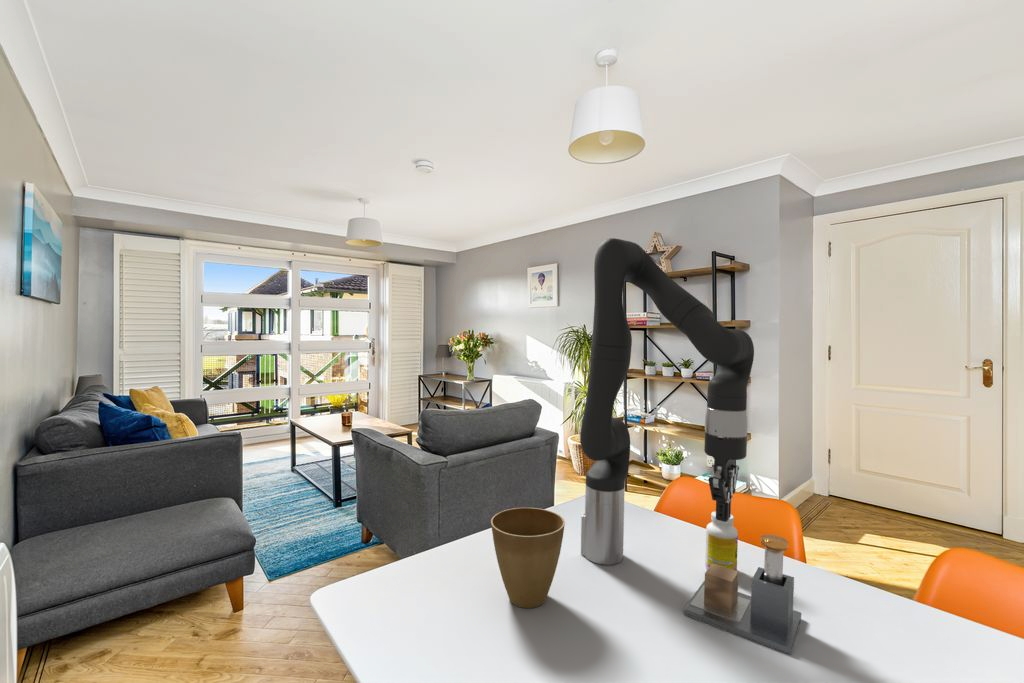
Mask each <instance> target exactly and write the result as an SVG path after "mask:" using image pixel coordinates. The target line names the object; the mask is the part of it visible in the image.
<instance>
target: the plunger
mask: <svg viewBox="0 0 1024 683" xmlns="http://www.w3.org/2000/svg"><path fill="white" fill-rule="evenodd" d="M760 544H761V546H764V560H763V562H764V563H763V565H764V566H763V568H764V581H766V582H769V583H773V584H776V585H779V586H782V578H783V572H784V551H787V550H788V549H789V541H788V540H787V539H786V538H784V537H782V536H779V535H775V534H762V535H761V536H760Z"/></svg>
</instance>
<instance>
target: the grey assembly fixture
mask: <svg viewBox="0 0 1024 683" xmlns="http://www.w3.org/2000/svg"><path fill="white" fill-rule="evenodd" d="M704 585H705V580H703V582H702V583H701V584H700V586H699V587H698V589H697V590H696V591H695V593H694V594H693V596H692V597H691V598H690V600H689V601H688V602H687V604H686V605H685V607H684V608H683V615H684V616H686V617H688V618H691V619H695V620H697V621H700V622H702V623H703V624H708V625H711V626H712V627H716V628H718V629H720V630H723V631H726V632H728V633H731V634H734V635H736V636H739V637H742V638H744V639H747V640H750V641H753V642H755V643H757V644H759V645H763V646H766V647H768V648H770V649H774V650H776V651H778V652H781V653H784V654H787V655H790V656H791V655H792V651H793V649H794V645H795V642H796V638H797V635H798V631H799V628H800V624H801V620H802V612H800V611H799V610H794V593H795V592H794V590H795V589H794V588H795V577H794V576H791V575H788V574H785V573H784V574H783V578H782V586H779V585H776V584H773V583H769V582H766V581H764V567H760V566H759V567H757V569H756V571H755V573H754V575H753V577H752V578H751V593H750V595H748V594H745V593H743V592H740V591H738V601H737V603H736V605H735V607H734V609H733V610H732V612H731V613H730V612H727V611H725V610H722V609H719V608H716V607H713V606H710V605H708V604H705V603H704Z"/></svg>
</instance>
